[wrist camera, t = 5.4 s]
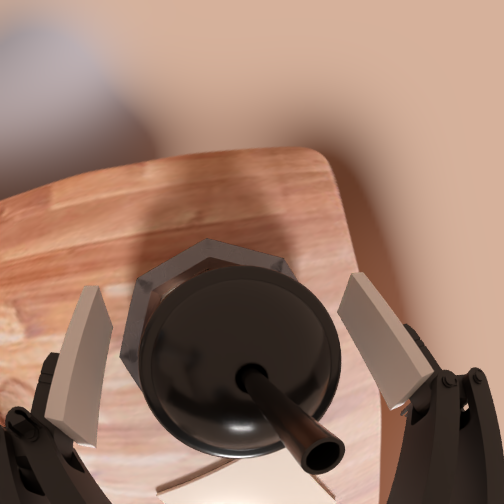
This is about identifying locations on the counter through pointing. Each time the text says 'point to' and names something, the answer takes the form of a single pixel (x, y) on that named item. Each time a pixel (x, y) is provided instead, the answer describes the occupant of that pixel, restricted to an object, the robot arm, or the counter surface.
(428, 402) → the robot arm
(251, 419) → the drinking cup
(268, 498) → the coaster
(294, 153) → the counter surface
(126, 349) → the grey octagonal ring
